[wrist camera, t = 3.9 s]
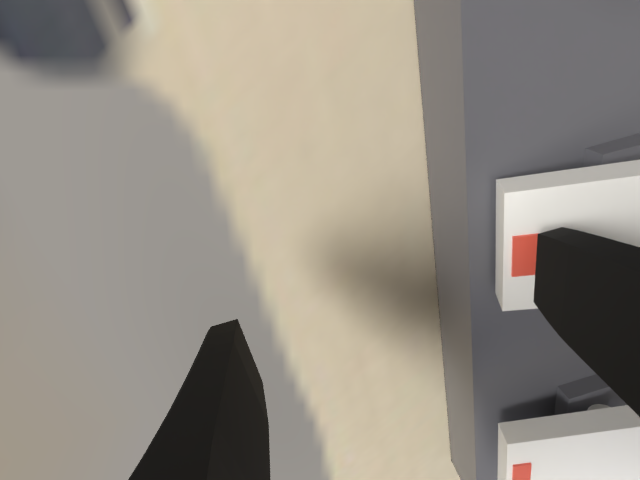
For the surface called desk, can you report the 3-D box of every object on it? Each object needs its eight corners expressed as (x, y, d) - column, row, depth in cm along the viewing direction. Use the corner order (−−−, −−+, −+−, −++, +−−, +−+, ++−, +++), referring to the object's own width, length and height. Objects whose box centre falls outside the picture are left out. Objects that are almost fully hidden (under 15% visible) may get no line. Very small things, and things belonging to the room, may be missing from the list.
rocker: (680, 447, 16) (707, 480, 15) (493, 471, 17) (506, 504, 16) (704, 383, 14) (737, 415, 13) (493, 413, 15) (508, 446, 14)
